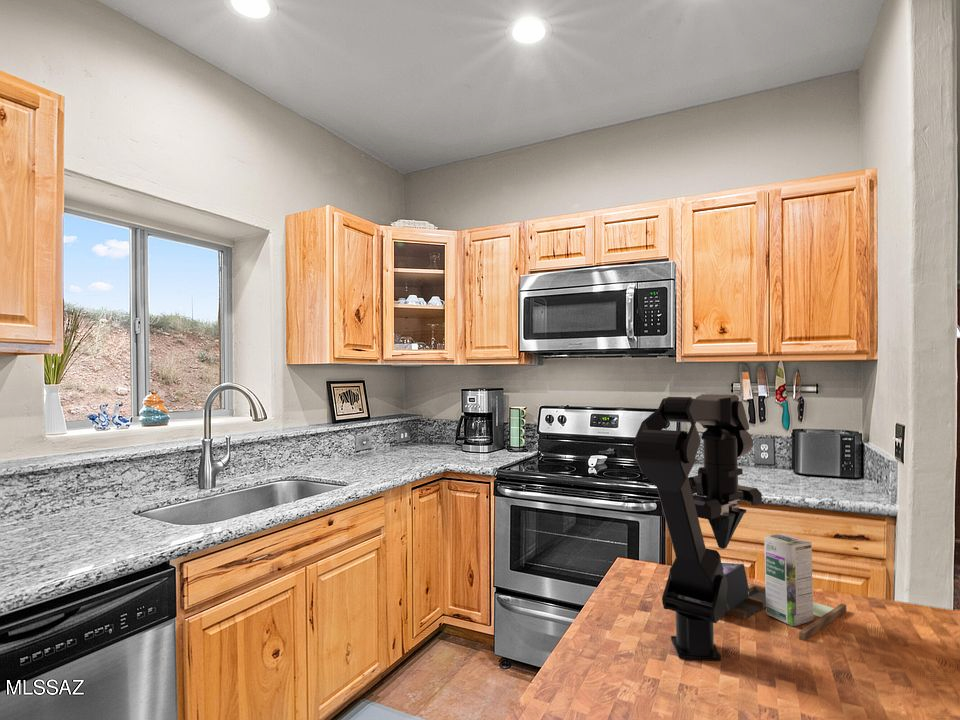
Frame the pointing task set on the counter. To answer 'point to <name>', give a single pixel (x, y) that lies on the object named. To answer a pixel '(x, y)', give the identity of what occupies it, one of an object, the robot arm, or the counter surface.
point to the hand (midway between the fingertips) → (722, 547)
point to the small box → (731, 586)
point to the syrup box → (788, 579)
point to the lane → (759, 602)
